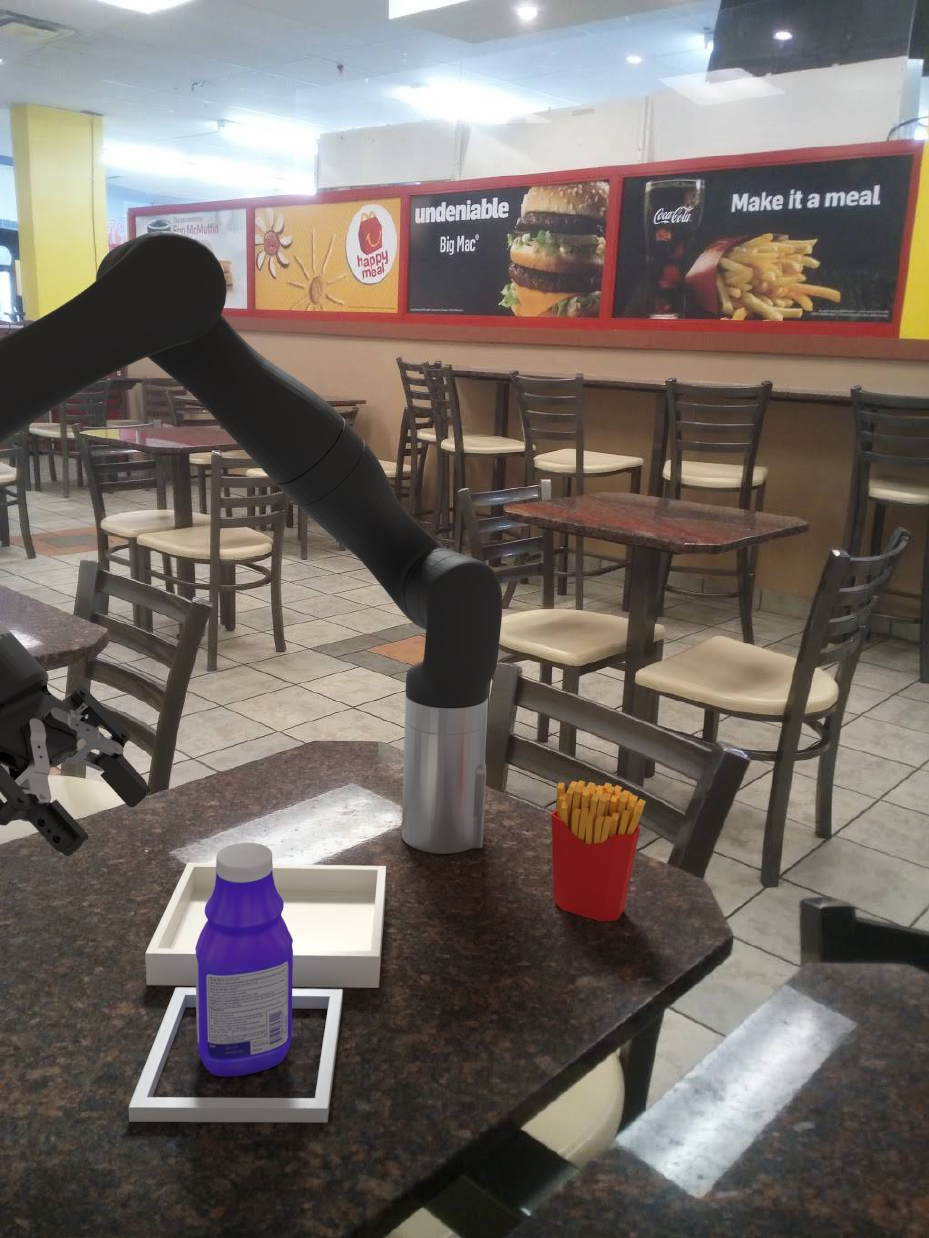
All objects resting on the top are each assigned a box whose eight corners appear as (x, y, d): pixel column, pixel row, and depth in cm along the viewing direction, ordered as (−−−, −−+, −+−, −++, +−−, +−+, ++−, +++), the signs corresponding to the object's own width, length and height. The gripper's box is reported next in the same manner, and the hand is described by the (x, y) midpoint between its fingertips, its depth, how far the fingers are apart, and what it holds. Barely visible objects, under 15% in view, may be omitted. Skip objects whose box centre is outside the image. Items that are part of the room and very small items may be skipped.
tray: (385, 893, 103) (386, 866, 102) (378, 987, 87) (379, 956, 86) (188, 890, 102) (187, 862, 101) (146, 984, 86) (145, 953, 85)
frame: (342, 1001, 85) (342, 989, 85) (327, 1122, 72) (327, 1108, 71) (176, 999, 84) (175, 987, 84) (129, 1121, 71) (128, 1107, 71)
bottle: (284, 1024, 82) (283, 830, 78) (299, 1069, 77) (299, 864, 72) (193, 1042, 79) (187, 842, 75) (202, 1090, 74) (196, 879, 70)
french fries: (541, 903, 102) (549, 786, 99) (557, 885, 106) (565, 771, 102) (627, 929, 98) (638, 807, 95) (640, 909, 102) (652, 791, 98)
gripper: (-75, 658, 67) (87, 837, 68) (54, 610, 81) (188, 760, 81) (-133, 723, 70) (24, 895, 70) (1, 666, 83) (132, 811, 84)
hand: (112, 822), depth 76 cm, fingers open, 8 cm apart
